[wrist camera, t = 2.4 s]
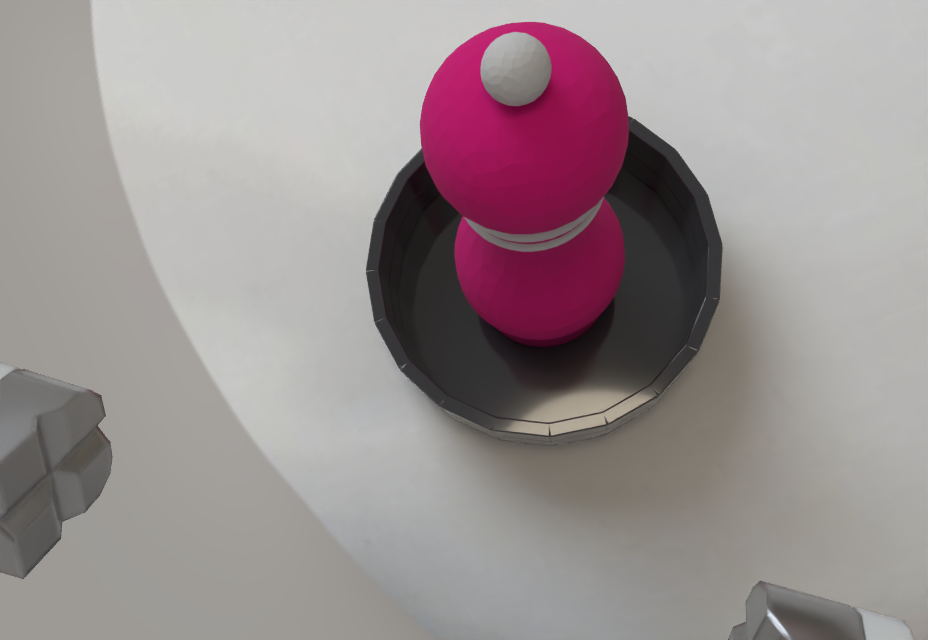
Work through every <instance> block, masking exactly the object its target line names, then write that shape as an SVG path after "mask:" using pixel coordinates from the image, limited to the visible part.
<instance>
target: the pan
mask: <svg viewBox="0 0 928 640" xmlns="http://www.w3.org/2000/svg"><path fill="white" fill-rule="evenodd" d="M628 122H629V137H628V146H627V150H626V153H625V157H624V161H623V164H622V167H621V169H620V171H619V173H618V175H617V177H616V179H615V181H614V183H613V185H612V187H611V188H610V189H609V190H608V192H607V193H606V194H605V195H604V198H605V199H606V200H607V201H608V203H609V204H610V206H611V208H612V209H613V211H614V213H615V215H616V216H617V218H618V220H619V223H620V226H621V230H622V233H623V239H624V250H625V263H624V271H623V276H622V279H621V282H620V285H619V288H618V291H617V292H616V294H615V296H614V297H613V299H612V301H611V302H610V304H609V305H608V306H607V308H606V309H605V310H604V311H603V312H602V313H601V314H600V316H599V317H598V319H597V320H596V321H595V322H594V324H593V325H592V326H591V327H590V328H589V329H588V330H587V331H586V332H584V333H583V334H582V335H580V336H579V337H577V338H575V339H574V340H571V341H569V342H567V343H564V344H560V345H557V346H550V347H537V346H528V345H524V344H521V343H518V342H516V341H514V340H512V339H510V338H508V337H506V336H505V335H503V334H502V333H501V332H499V331H498V330H497V329H496V328H495V327H493V326H492V325H490V324H489V323H488V322H486V321H485V320H484V319H483V318H482V317H481V316H480V315H478V314H477V313H476V311H475V310H474V309H473V307H472V306H471V305H470V303H469V302H468V301H467V299H466V297H465V295H464V293H463V291H462V289H461V286H460V283H459V279H458V276H457V270H456V264H455V256H454V255H455V240H456V236H457V231H458V227H459V225H460V222H461V219H462V217H463V216H462V215H461V214H460V213H459V212H458V211H457V210H456V209H455V208H454V207H453V206H452V205H451V204H450V203H449V202H448V201H447V200H446V199H445V198H444V197H443V196H442V195H441V193H440V192H439V190H438V189H437V187H436V185H435V183H434V181H433V179H432V177H431V175H430V173H429V171H428V169H427V167H426V164H425V160H424V155H423V150H422V149H421V150H420V151H419V152H418V153H417V154H416V155H415V156H414V157H413V158H412V159H411V160H410V161H409V162H408V163H407V164H406V165H405V166H404V167H403V168H402V169H401V170H400V171H399V173H398V175H396V177H395V179H394V181H393V183H392V185H391V187H390V189H389V191H388V193H387V195H386V197H385V199H384V201H383V203H382V205H381V207H380V209H379V211H378V213H377V215H376V217H375V219H374V220H375V221H374V222H373V229H372V235H371V241H370V248H369V254H368V260H367V267H366V275H367V281H368V287H369V293H370V299H371V305H372V311H373V317H374V322H375V325H376V327H377V328H378V330H379V332H380V334H381V336H382V338H383V340H384V342H385V343H386V345H387V347H388V349H389V351H390V353H391V355H392V356H393V358H394V360H395V362H396V364H397V366H398V368H399V369H400V370H401V371H402V372H403V373H404V374H405V375H406V376H407V377H408V378H409V379H410V380H411V381H412V382H413V383H414V384H415V385H417V386H418V387H419V388H420V389H421V390H422V391H423V392H424V393H425V394H426V395H427V396H428V397H429V398H430V399H432V400H433V401H434V402H435V403H436V404H437V405H438V406H439V407H440V408H441V409H443V410H444V411H445V412H446V413H447V414H449V415H450V416H451V417H453V418H454V419H456V420H458V421H460V422H462V423H464V424H467V425H469V426H471V427H473V428H475V429H477V430H479V431H481V432H483V433H486V434H488V435H491V436H493V437H495V438H497V439H501V440H507V441H514V442H520V443H525V444H542V445H558V444H563V443H571V442H576V441H581V440H585V439H590V438H593V437H597V436H602V435H605V434H607V433H609V432H610V431H612V430H614V429H616V428H618V427H620V426H621V425H623V424H625V423H627V422H629V421H631V420H632V419H634V418H635V417H637V416H638V415H640V414H642V413H644V412H645V411H647V410H649V409H650V408H651V407H652V406H653V405H654V404H655V403H656V402H657V401H658V400H659V398H660V397H661V396H662V395H663V394H664V393H665V392H666V391H667V389H668V388H669V387H670V386H671V385H672V384H673V383H674V382H675V380H676V379H677V378H678V377H679V376H680V375H681V374H682V372H683V371H684V370H685V369H686V368H687V366H688V365H689V364H690V362H691V361H692V360H693V358H694V357H695V356H696V354H697V353H698V351H699V349H700V347H701V344H702V342H703V339H704V337H705V335H706V332H707V330H708V327H709V325H710V323H711V320H712V318H713V315H714V313H715V310H716V308H717V306H718V303H719V300H720V285H721V267H722V248H723V247H722V241H721V238H720V235H719V231H718V228H717V224H716V221H715V218H714V214H713V211H712V207H711V204H710V201H709V197H708V194H707V193H706V191H705V190H704V188H703V187H702V185H701V184H700V183H699V181H698V180H697V178H696V177H695V176H694V174H693V173H692V171H691V170H690V168H689V167H688V166H687V164H686V163H685V161H684V160H683V159H682V157H681V156H680V154H679V153H678V152H677V151H676V150H675V149H674V148H673V147H672V146H670V145H669V144H668V143H666V142H665V141H664V140H662V139H661V138H660V137H658V136H657V135H655V134H654V133H653V132H651V131H650V130H649V129H647V128H646V127H645V126H643V125H642V124H641V123H639V122H638V121H637V120H635V119H633V118H632V117H629V116H628Z"/></svg>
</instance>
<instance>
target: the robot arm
mask: <svg viewBox="0 0 928 640" xmlns="http://www.w3.org/2000/svg"><path fill="white" fill-rule="evenodd" d="M105 416H106V415H105V410H104V406H103V402H102V397H101V395H99V394H97V393H95V392H93V391H91V390H89V389H85V388H82V387H79V386H76V385H73V384H70V383H67V382H63V381H60V380H57V379H54V378H51V377H47V376H44V375H41V374H38V373H35V372H32V371H28V370H25V369H20V368H17V367H14V366H11V365H7V364H4V363H1V362H0V572H1V573H5V574H8V575H11V576H14V577H18V578H21V579H24V578H25V577H26V576H27V575H28V574H29V573H30V571H31V570H32V569H33V568H34V567H35V566H36V565H37V564H38V563H39V562H40V561H41V560H42V559H43V557H44V556H45V555H46V554H47V553H48V552H49V551H50V550H51V549H52V548H53V547H54V546H55V544H56V543H57V542H58V541H59V540H60V539H61V532H62V522H63V521H65V520H68V519H70V518H73V517H75V516H77V515H80V514H82V513H85V512H86V511H87V510H88V508H89V507H90V506H91V505H92V504H93V503H94V502H95V500H96V499H97V498H98V497H99V496H100V494H101V492H102V490H103V488H104V486H105V484H106V482H107V479H108V477H109V475H110V471H111V464H112V450H111V444H110V441H109V440H108V439H107V438H106V436H105V435H104V434H103V432H102V431H101V430H100V428H99V427H98V426H97V425H98V424H99V423H100V422H101V421H102V420H103V418H104V417H105ZM728 640H914V639H913V635H912V631H911V629H910V628H909V626H908V625H907V624H906V622H905V621H904V620H900V619H896V618H893V617H889V616H886V615H882V614H878V613H875V612H871V611H868V610H864V609H860V608H857V607H854V608H852V607H851V606H850V605H847V604H843V603H839V602H836V601H832V600H828V599H825V598H821V597H817V596H814V595H810V594H807V593H803V592H799V591H796V590H792V589H788V588H785V587H781V586H777V585H774V584H770V583H767V582H763V581H759V582H758V583H757V584H756V585H755V586H754V587H753V589H752V591H751V592H750V594H749V596H748V598H747V600H746V622H744V623H742V624H739V625H737V626H734V627H733V629H732V631H731V633H730V636H729V638H728Z"/></svg>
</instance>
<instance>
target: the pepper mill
mask: <svg viewBox="0 0 928 640" xmlns="http://www.w3.org/2000/svg"><path fill="white" fill-rule="evenodd" d="M420 133H421V146H422V150H423V155H424V160H425V164H426V167H427V169H428V171H429V173H430V175H431V177H432V179H433V181H434V183H435V185H436V187H437V189H438V190H439V192H440V193H441V195H442V196H443V197H444V198H445V199H446V200H447V201H448V202H449V203H450V204H451V205H452V206H453V207H454V208H455V209H456V210H457V211H458V212H459V213H460V214H461V215H462V216H463V217H462V219H461V222H460V225H459V227H458V231H457V236H456V240H455V255H454V256H455V264H456V270H457V276H458V279H459V283H460V286H461V289H462V291H463V293H464V295H465V297H466V299H467V301H468V302H469V303H470V305H471V306H472V307H473V309H474V310H475V311H476V313H477V314H478V315H480V316H481V317H482V318H483V319H484V320H485V321H486V322H488V323H489V324H490V325H492V326H493V327H495V328H496V329H497V330H498V331H499V332H501V333H502V334H503V335H505V336H506V337H508V338H510V339H512V340H514V341H516V342H518V343H521V344H524V345H528V346H537V347H550V346H557V345H560V344H564V343H567V342H569V341H571V340H574V339H575V338H577V337H579V336H580V335H582V334H583V333H584V332H586V331H587V330H588V329H589V328H590V327H591V326H592V325H593V324H594V322H595V321H596V320H597V319H598V317H599V316H600V314H601V313H602V312H603V311H604V310H605V309H606V308H607V306H608V305H609V304H610V302H611V301H612V299H613V297H614V296H615V294H616V292H617V291H618V288H619V285H620V282H621V279H622V276H623V271H624V263H625V250H624V239H623V233H622V230H621V226H620V223H619V220H618V218H617V216H616V215H615V213H614V211H613V209H612V208H611V206H610V204H609V203H608V201H607V200H606V199H605V198H604V195H605V194H606V193H607V192H608V190H609V189H610V188H611V187H612V185H613V183H614V181H615V179H616V177H617V175H618V173H619V171H620V169H621V167H622V164H623V161H624V157H625V153H626V150H627V146H628V137H629V122H628V112H627V105H626V98H625V95H624V93H623V90H622V88H621V85H620V82H619V80H618V78H617V76H616V74H615V73H614V71H613V70H612V68H611V66H610V65H609V63H608V62H607V61H606V59H605V58H604V57H603V56H602V55H601V54H600V53H599V51H598V50H597V49H596V48H595V47H593V46H592V45H591V44H589V43H588V42H587V41H586V40H584V39H583V38H581V37H580V36H578V35H576V34H574V33H572V32H570V31H568V30H566V29H564V28H561V27H557V26H554V25H550V24H546V23H539V22H521V23H510V24H505V25H501V26H497V27H493V28H490V29H488V30H486V31H484V32H482V33H480V34H478V35H476V36H474V37H472V38H471V39H469V40H468V41H467V42H465V43H464V44H462V45H461V46H459V47H458V48H457V49H456V50H455V51H454V52H453V53H452V54H451V55H450V56H448V57H447V58H446V60H445V61H444V63H443V64H442V65H441V67H440V68H439V69H438V71H437V72H436V73H435V75H434V77H433V79H432V81H431V83H430V86H429V88H428V90H427V93H426V96H425V99H424V102H423V106H422V112H421V119H420Z"/></svg>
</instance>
